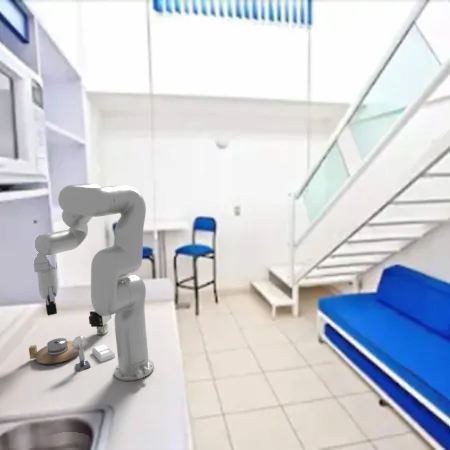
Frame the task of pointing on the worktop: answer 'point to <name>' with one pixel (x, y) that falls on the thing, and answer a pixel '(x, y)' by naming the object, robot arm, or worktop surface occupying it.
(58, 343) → the cover
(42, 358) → the turntable
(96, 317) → the pneumatic valve
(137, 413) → the worktop surface
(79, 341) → the gauge post
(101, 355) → the white switch plate
